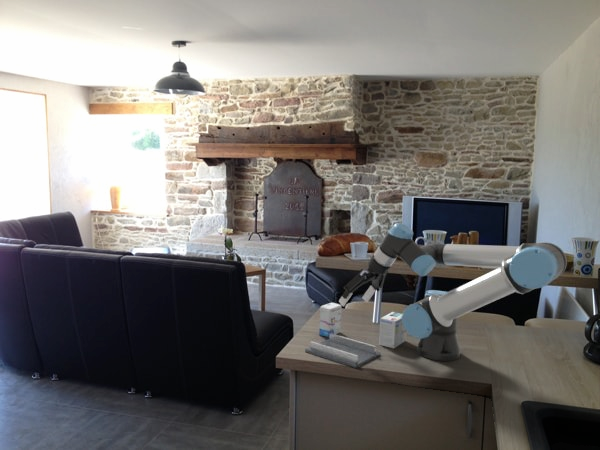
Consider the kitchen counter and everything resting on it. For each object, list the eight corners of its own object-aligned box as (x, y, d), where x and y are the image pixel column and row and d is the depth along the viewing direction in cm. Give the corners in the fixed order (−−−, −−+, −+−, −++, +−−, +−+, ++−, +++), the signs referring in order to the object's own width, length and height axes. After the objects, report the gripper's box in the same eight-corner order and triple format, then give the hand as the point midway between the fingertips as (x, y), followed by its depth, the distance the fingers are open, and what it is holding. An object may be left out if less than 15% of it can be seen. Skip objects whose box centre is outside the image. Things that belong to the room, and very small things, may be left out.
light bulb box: (390, 337, 209) (391, 311, 208) (406, 341, 205) (407, 314, 204) (378, 345, 201) (379, 317, 199) (394, 349, 197) (395, 321, 195)
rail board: (380, 354, 190) (380, 345, 190) (355, 368, 178) (356, 358, 178) (331, 340, 204) (331, 331, 204) (305, 351, 192) (305, 342, 192)
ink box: (329, 337, 207) (330, 308, 206) (318, 335, 210) (319, 306, 209) (341, 332, 214) (341, 304, 212) (330, 329, 217) (331, 301, 215)
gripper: (396, 252, 200) (368, 291, 210) (353, 254, 183) (325, 297, 193) (408, 265, 196) (379, 305, 206) (366, 269, 179) (336, 312, 189)
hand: (353, 301), depth 199 cm, fingers open, 13 cm apart
